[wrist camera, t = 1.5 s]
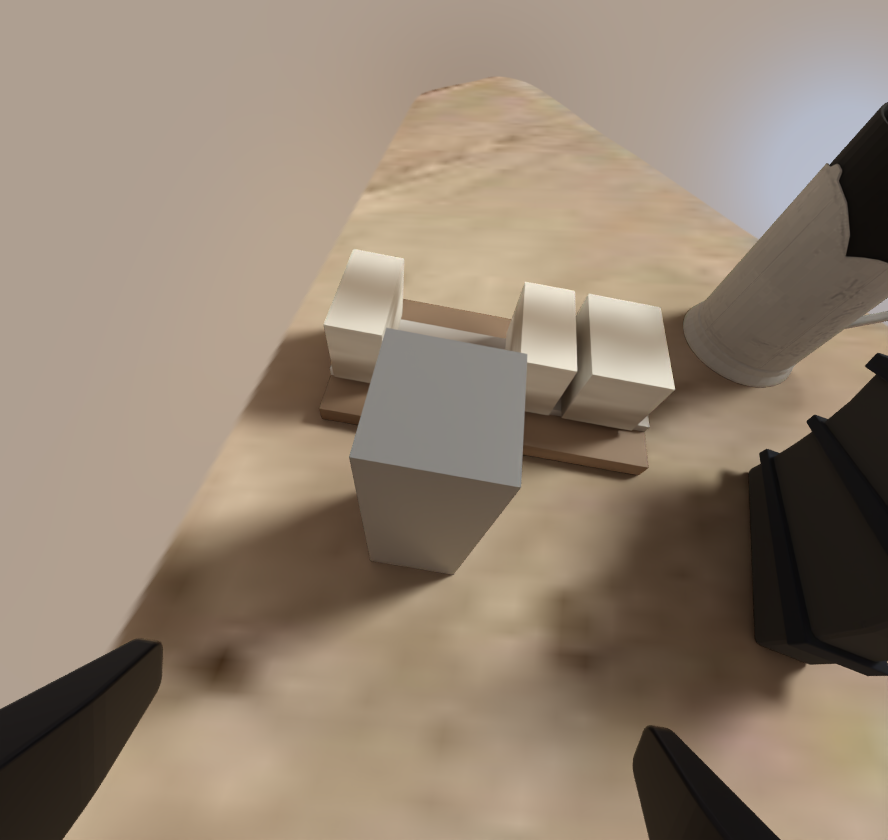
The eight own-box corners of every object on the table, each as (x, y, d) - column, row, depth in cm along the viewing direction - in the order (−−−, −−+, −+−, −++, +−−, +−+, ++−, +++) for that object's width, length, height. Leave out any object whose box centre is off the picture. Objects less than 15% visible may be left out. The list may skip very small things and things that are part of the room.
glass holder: (678, 291, 35) (846, 79, 22) (842, 331, 35) (1106, 140, 22) (687, 371, 31) (904, 164, 18) (875, 416, 31) (1230, 241, 18)
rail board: (638, 475, 26) (704, 426, 20) (322, 418, 25) (303, 353, 20) (625, 352, 31) (675, 287, 25) (361, 303, 30) (355, 226, 25)
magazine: (775, 716, 19) (1196, 480, 10) (700, 514, 29) (874, 319, 21) (860, 750, 18) (1366, 536, 10) (752, 533, 29) (950, 343, 21)
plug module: (453, 574, 22) (520, 487, 10) (370, 560, 22) (349, 457, 10) (463, 493, 24) (527, 350, 13) (388, 480, 24) (387, 323, 13)
